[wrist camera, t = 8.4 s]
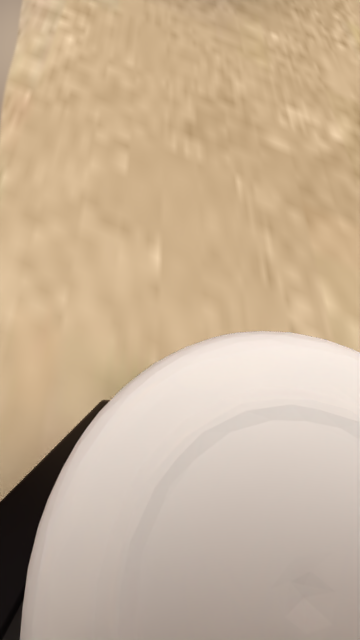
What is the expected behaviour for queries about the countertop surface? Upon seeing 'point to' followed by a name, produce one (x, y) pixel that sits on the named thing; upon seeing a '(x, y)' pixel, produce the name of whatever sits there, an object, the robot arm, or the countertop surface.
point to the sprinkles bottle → (210, 502)
